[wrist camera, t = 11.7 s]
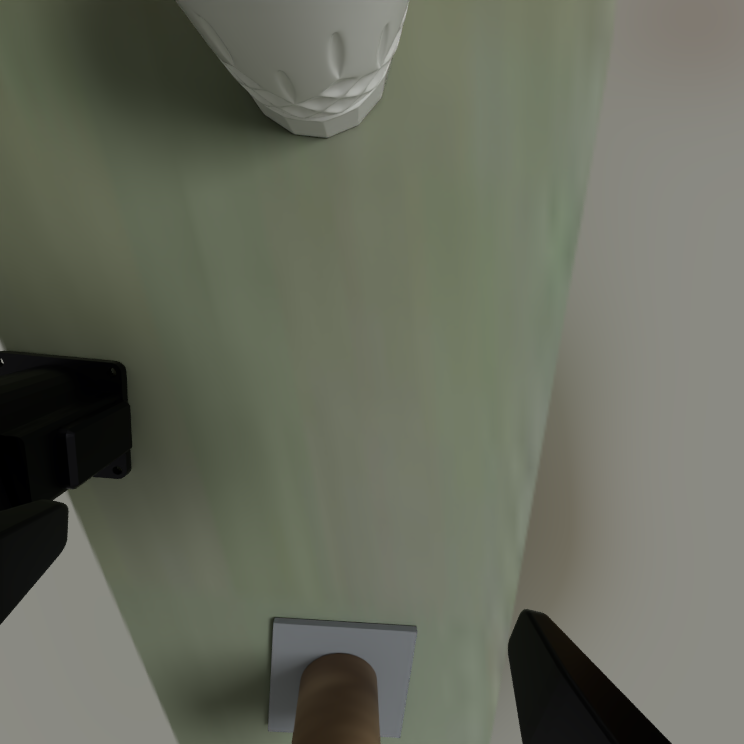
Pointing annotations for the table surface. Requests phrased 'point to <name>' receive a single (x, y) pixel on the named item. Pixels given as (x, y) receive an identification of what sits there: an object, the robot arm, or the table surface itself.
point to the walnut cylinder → (337, 702)
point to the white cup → (305, 55)
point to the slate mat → (365, 640)
